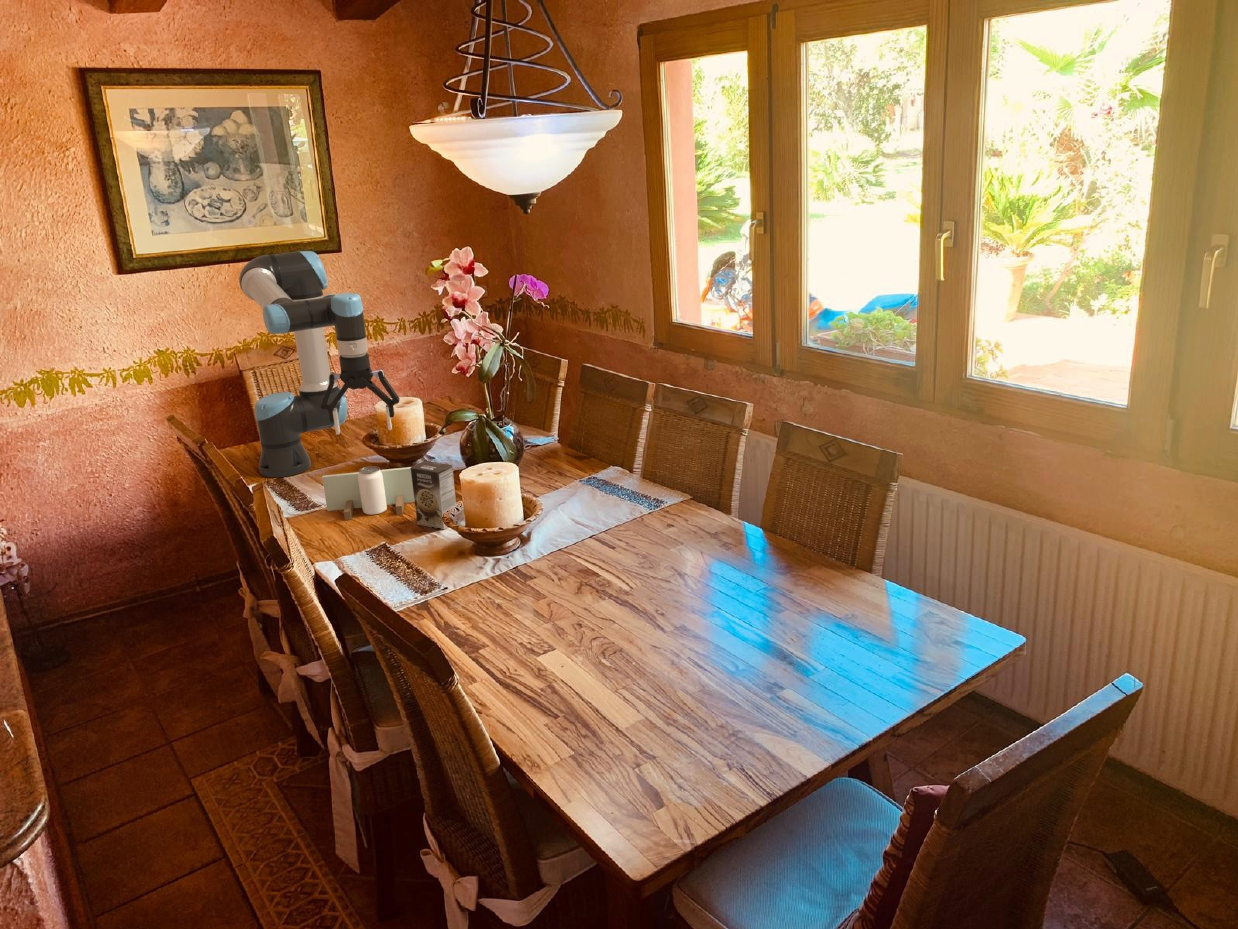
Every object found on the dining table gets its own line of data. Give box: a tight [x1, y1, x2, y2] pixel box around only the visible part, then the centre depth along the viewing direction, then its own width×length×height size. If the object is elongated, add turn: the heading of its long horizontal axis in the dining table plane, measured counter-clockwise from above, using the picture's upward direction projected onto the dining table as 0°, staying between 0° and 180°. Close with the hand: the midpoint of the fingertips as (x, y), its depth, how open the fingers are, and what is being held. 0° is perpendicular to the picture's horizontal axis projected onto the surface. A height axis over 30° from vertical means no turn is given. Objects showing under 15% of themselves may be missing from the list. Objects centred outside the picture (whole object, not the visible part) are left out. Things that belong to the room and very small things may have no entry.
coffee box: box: [410, 460, 457, 530], centre depth 239 cm, size 9×6×16 cm
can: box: [358, 465, 388, 516], centre depth 250 cm, size 6×6×12 cm
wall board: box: [321, 466, 415, 521], centre depth 250 cm, size 9×26×10 cm, turn 100°
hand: (364, 430), depth 248 cm, fingers open, 13 cm apart
